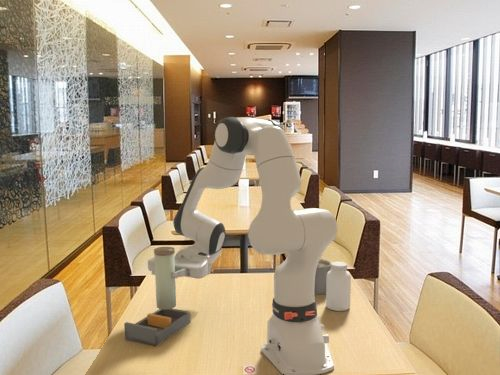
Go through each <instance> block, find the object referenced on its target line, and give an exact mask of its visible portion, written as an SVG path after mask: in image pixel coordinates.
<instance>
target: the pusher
mask: <svg viewBox="0 0 500 375" xmlns="http://www.w3.org/2000/svg"><path fill="white" fill-rule="evenodd" d="M146 317H147V320H148V325H152V326H157V327H161V328H165V327H167V326H168V325H170V324H171V317H166V316H161V315H156V314H152V313H148V314H147V316H146Z"/></svg>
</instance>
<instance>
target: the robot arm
mask: <svg viewBox="0 0 500 375" xmlns="http://www.w3.org/2000/svg"><path fill="white" fill-rule="evenodd" d="M216 124H217V125H216V127H215V129H214V135H213V136H214V142H213V145H212V148H211V151H210V155H209V158H208V161H207V163H206V165H205V166H203V167H200V168H198V170H197V171H196V172H195V174H194V176H193V178H192V180H191V182H190V184H189V186H188V188H187V191H186V193H185V195H184V198H183V201H182V202H181V205H180V207H179V208H178V210H177V212H176V214H175V215H174V218H173V222H172V224H173V227H174V230H175V233H176V234H178V235H180V236H183V237H186V238H189V240H192V241H193V242H194V243H193V244H192V245H189V246H186V247H184V248H182V249H180V250H179V251H177V252H176V253H175V254H174V257H175V271H174V272H172V273H171V275H172V278H175V279H179V278H183V277H186V278H192V279H203V278H205V277H207V276H209V275H211V273H212V263H214V262H215V261H216V260H217V259H218V258H220V255H221V253H222V249H223V246H224V244H225V241H226V237H227V233H226V228H225V225H224V224H223V223H222V222H221V221H218V220H217V219H215V218H213V217H211V216H209V215H207V214H205V213H203V212H200V210H199V209H198V204H199V202H200V200H201V197H202V195H203V192H204V191H205V189H214V190H223V189H227V188H230V187H232V186H234V185H236V183H238V182H239V179H240V177H241V175H242V173H243V168H244V166H245V162H246V161H245V160H246V157H247V156H254V160H255V161H254V162H255V165H256V170H257V173H258V178H259V183H260V189H261V199H262V200H261V205H260V209H259V211H258V213H257V215H256V216H255V217H254V219H253V220H252V221H251V222H250V225H249V228H248V240H249V243H250V245H251V248H252V249H254V251H255V252H256V253H257V254H260V255H275V256H276V255H282V254H288V255H287V257H286V259H285V260H284V261H283V262H282V263H281V264H279V265H278V266H277V268H276V269H275V270H274V274H273V299H272V304H271V307H272V313H273V314H272V315H271V317H269V319H268V320H267V328H266V343H265V344H263V345H262V346H261V348H260V351H261V353H262V354H263V355H264V356H265V357H266V358H267V360H269V361H270V362H271V363H272V365H273V366H274V367H275V368H276V369H277V371H278V372H279V373H280V374H281V375H283V374H284V375H320V374H325V373H328V372H331V371H333V370H334V369H335V364H334V361H333V356H332V354H331V351H330V348H329V343H330V337H329V334H328V333H327V334H323V330H325V328H324V327H325V325H324V324H321V323H320V316H319V314H318V310H317V309H318V306H317V305H318V304H317V301H316V298H315V294H314V289H315V274H316V269H317V266H318V263H319V260H320V259H322V255H323V254H324V252H325V250H326V249H327V248H328V246H329V245H330V244H332V242H333V241H335V238H336V237H337V234H338V223H337V219H336V217H335V215H334V214H333V213H332V212H331V211H330V210H328V209H325V208H316V207H310V208H301V209H292V207H291V200H292V199H293V198H294V197H295V196H296V195H297V194H298V193H299V192H300V190H301V187H302V182H303V181H302V178H301V174H300V171H299V168H298V162H297V159H296V156H295V153H294V150H293V147H292V145H291V142H290V140H289V138H288V135H287V134H286V132H285V130H284V128H283V126H282V124H280V123H279V122H277V121H275V120H271V119H262V118H255V117H252V116H245V117H244V116H243V117H241V116H239V117H238V116H237V117H235V116H229V117H225V118H221V119H220V120H219V121H218V123H216ZM147 270H148V271H149V272H151V275H152V276H153V275H154V276H155V256H153V257H152V258H149V259H148V260H147Z"/></svg>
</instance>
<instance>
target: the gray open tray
mask: <svg viewBox="0 0 500 375" xmlns="http://www.w3.org/2000/svg"><path fill="white" fill-rule="evenodd" d="M151 314H156V315H161V316H166V317H171V324H170V325H168V326H167V327H165V328H161V327H157V326H152V325H148V320H147V316H145V317H144V318H142V319H141V320H139V321H137V322H135V323H132V322H128V321H126V322H124V325H123V326H124V338H125V339H124V340H126V341H130V342H134V343H138V344H143V345H148V346H152V347H157V346H159V345H160V344H162V343H163V342H165V341H166V340H168V339H169V338H171V337H172V336H173V335H176V333H178V332H179V331H180V330H182V329H183V328H185V327H186V326H187V325H189V324H190V323H191V313H190V312H188V311H187V310H182V309H177V308H171V309H159V308H158V309H157V310H156V311H154V312H152V313H151Z"/></svg>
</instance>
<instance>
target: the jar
mask: <svg viewBox="0 0 500 375" xmlns="http://www.w3.org/2000/svg"><path fill="white" fill-rule="evenodd" d="M175 249H176V248H175V247H173V246H160V247H159V246H158V247H156V248H154V249H153V254H154V256H153V257H155V275H154V278H155V297H156V298H155V301H156V303H155V304H156V308H157V309H158V310H159V309H171V308H172V309H175V308H176V306H177V292H176V291H177V290H176V278H172V275H171V273H172V272H174V271H175V254H176V253H175Z"/></svg>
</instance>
